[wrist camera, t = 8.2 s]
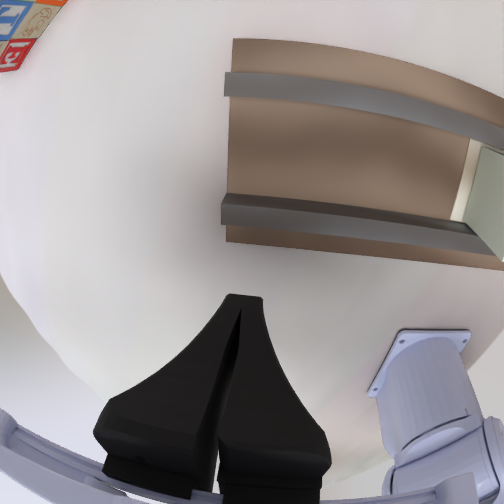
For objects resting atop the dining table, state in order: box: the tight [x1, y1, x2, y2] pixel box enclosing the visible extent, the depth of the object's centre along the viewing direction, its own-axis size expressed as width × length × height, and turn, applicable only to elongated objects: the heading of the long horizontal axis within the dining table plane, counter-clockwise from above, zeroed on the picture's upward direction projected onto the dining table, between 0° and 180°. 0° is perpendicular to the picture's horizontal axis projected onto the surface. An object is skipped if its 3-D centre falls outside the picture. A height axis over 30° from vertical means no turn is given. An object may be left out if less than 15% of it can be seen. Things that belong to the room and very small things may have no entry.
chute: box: [221, 38, 504, 271], centre depth 15 cm, size 12×22×4 cm, turn 87°
